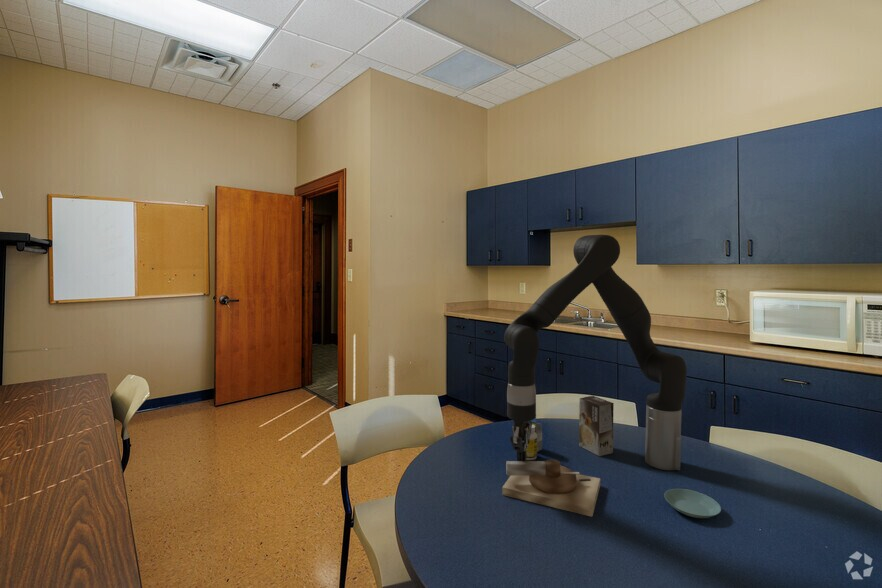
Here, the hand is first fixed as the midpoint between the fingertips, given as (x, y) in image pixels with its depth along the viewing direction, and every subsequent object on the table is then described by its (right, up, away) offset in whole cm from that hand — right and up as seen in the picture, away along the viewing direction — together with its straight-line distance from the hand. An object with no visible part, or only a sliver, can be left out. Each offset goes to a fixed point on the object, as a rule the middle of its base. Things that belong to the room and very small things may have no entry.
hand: (521, 462), depth 114 cm
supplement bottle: (+5, -5, +18) cm, 19 cm away
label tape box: (+7, -5, +25) cm, 26 cm away
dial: (+5, -4, -2) cm, 7 cm away
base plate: (+8, -6, -2) cm, 10 cm away
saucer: (+39, -7, -11) cm, 41 cm away
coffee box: (+28, -5, +23) cm, 37 cm away
